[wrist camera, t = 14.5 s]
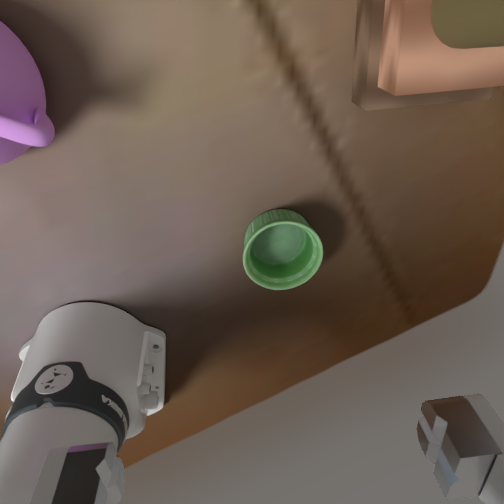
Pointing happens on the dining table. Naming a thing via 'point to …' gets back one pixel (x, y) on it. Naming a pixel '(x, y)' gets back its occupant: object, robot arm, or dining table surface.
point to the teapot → (20, 100)
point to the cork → (468, 23)
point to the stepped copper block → (415, 60)
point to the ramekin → (281, 250)
